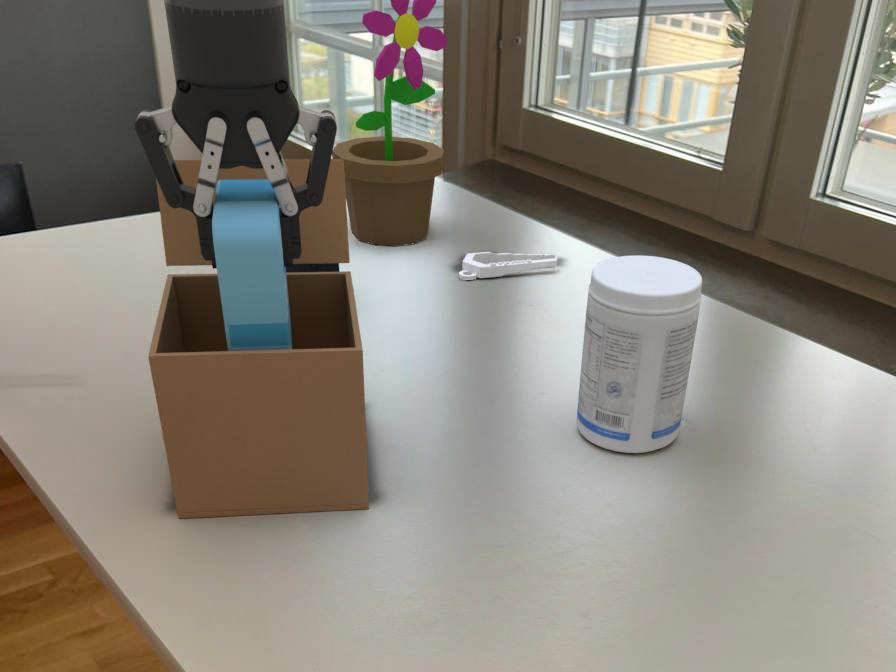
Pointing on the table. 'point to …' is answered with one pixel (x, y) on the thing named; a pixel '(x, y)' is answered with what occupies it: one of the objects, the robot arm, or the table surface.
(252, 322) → the data package
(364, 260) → the table surface
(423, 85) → the flowerpot
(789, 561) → the table surface
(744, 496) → the table surface
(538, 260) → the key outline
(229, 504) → the carton
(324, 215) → the flap
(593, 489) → the table surface
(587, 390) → the supplement tub
